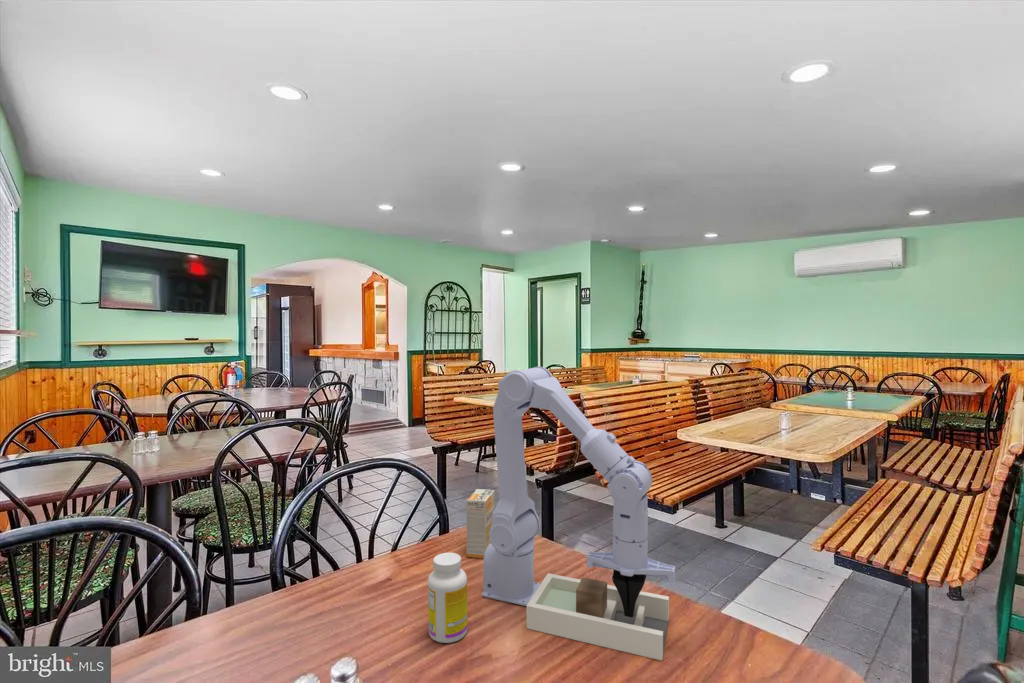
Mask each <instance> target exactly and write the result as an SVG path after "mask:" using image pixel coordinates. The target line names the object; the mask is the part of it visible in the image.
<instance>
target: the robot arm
mask: <svg viewBox="0 0 1024 683" xmlns="http://www.w3.org/2000/svg"><path fill="white" fill-rule="evenodd" d="M497 385H498V388H497V389H498V392H497V395H496V398H495V402H494V404H493V406H492V407H493V408H492V416H493V428H494V430H493V431H494V440H495V441H494V442H495V444H494V445H495V454H496V465H497V467H496V468H497V482H498V494H499V496H498V497H499V499H498V501H497V504H496V506H494V511H493V513H492V525H491V528H490V531H489V536H490V541H491V543H490V544H489V545H488V547H487V549H486V552H485V555H484V559H483V562H482V563H483V564H482V565H483V566H482V567H483V568H482V569H483V581H482V583H483V587H482V588H483V591H482V592H481V596H482V597H484V598H488V599H493V600H496V601H497V600H498V601H502V602H506V603H510V604H516V605H520V606H524V607H527V604H528V603H529V601H530V600H531V598H532V597H533V595H534V594H535V592H536V591H537V589H538V588H539V586H540V585H541V583H540V582H535V568H534V567H535V563H534V562H535V561H534V560H535V537H536V536H537V535H538V534H539V532H540V530H541V521H540V518H539V516H538V513H537V511H536V507H535V506H536V504H535V501H534V500H533V499H532V498H530V497H529V496H528V485H527V470H526V458H525V457H526V456H525V446H524V445H525V443H524V431H523V416H524V414H525V413H526V412H528V410H529V409H530V408H534V409H541V410H547V411H549V412H551V414H553V416H555V417H556V419H557V420H559V421H560V423H561V424H563V425H564V426H565V427H566V429H567V430H569V432H571V434H573V436H575V438H577V439H578V440H579V441H580V452H581V453H582V455H583V456H584V457H585V458H586V459H587V460H588V461H589V463H590V464H591V465H592V466H593V467H594V469H596V471H597V472H598V473H599V474H600V475H601V476H602V477H603V479H604V480H605V481H606V482H608V484H607V490H608V492H609V493H608V494H610V496H611V498H612V501H613V512H612V514H613V515H612V516H613V517H612V518H613V519H612V525H613V526H612V531H613V532H612V552H596V551H589V552H588V553H587V555H586V567H587V568H591V569H593V568H594V567H597V568H601V569H602V568H603V569H607V570H612V571H613V574H612V583H613V586H615V587H616V589H617V591H618V593H619V595H620V598H621V601H622V605H623V609H624V615H625V616H627V617H632V618H633V615H634V611H635V604H636V600H637V598H638V595H639V593H640V591H642V590H643V587H644V585H645V583H646V578H647V577H651V578H657V579H662V580H666V581H667V582H669V583H672V584H674V583H675V578H676V566H675V565H671V564H667V563H664V562H661V561H658V560H655V559H652V558H649V557H648V543H649V542H648V541H649V540H648V538H649V534H648V533H649V532H648V531H649V521H648V520H649V510H648V507H649V506H648V504H649V503H648V501H649V500H648V499H649V498H648V494H647V493H649V490H650V489H651V487H652V484H653V476H652V473H651V471H650V469H649V468H648V466H647V465H646V464H645V463H644V462H642V461H639V460H636V459H635V458H634V457H633V455H630V456H629V454H628V453H627V452H626V451H625V450H624V449H623V447H621V446H620V444H619V443H618V442H617V441H616V439H617V436H615V435H614V433H612V432H609V433H608V432H607V430H606V429H599V428H595V427H594V426H593V424H592V423H591V422H590V421H589V420H588V419H587V417H586V416H585V415H584V413H583V412H582V411H581V410H580V409H579V408H578V407H577V405H576V403H575V402H573V400H572V399H571V398H570V397H569V395H568V394H567V393H566V392H565V390H564V389H563V386H562V385H561V383H560V381H559V379H557V378H556V377H555V376H553V375H552V373H551V372H550V370H548V369H547V368H546V367H543V366H534V367H531V368H525V369H515V370H510V371H508V372H507V373H506V374H505V375H504V376H502V378H501V379H500V380H499V381H498V382H497Z"/></svg>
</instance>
